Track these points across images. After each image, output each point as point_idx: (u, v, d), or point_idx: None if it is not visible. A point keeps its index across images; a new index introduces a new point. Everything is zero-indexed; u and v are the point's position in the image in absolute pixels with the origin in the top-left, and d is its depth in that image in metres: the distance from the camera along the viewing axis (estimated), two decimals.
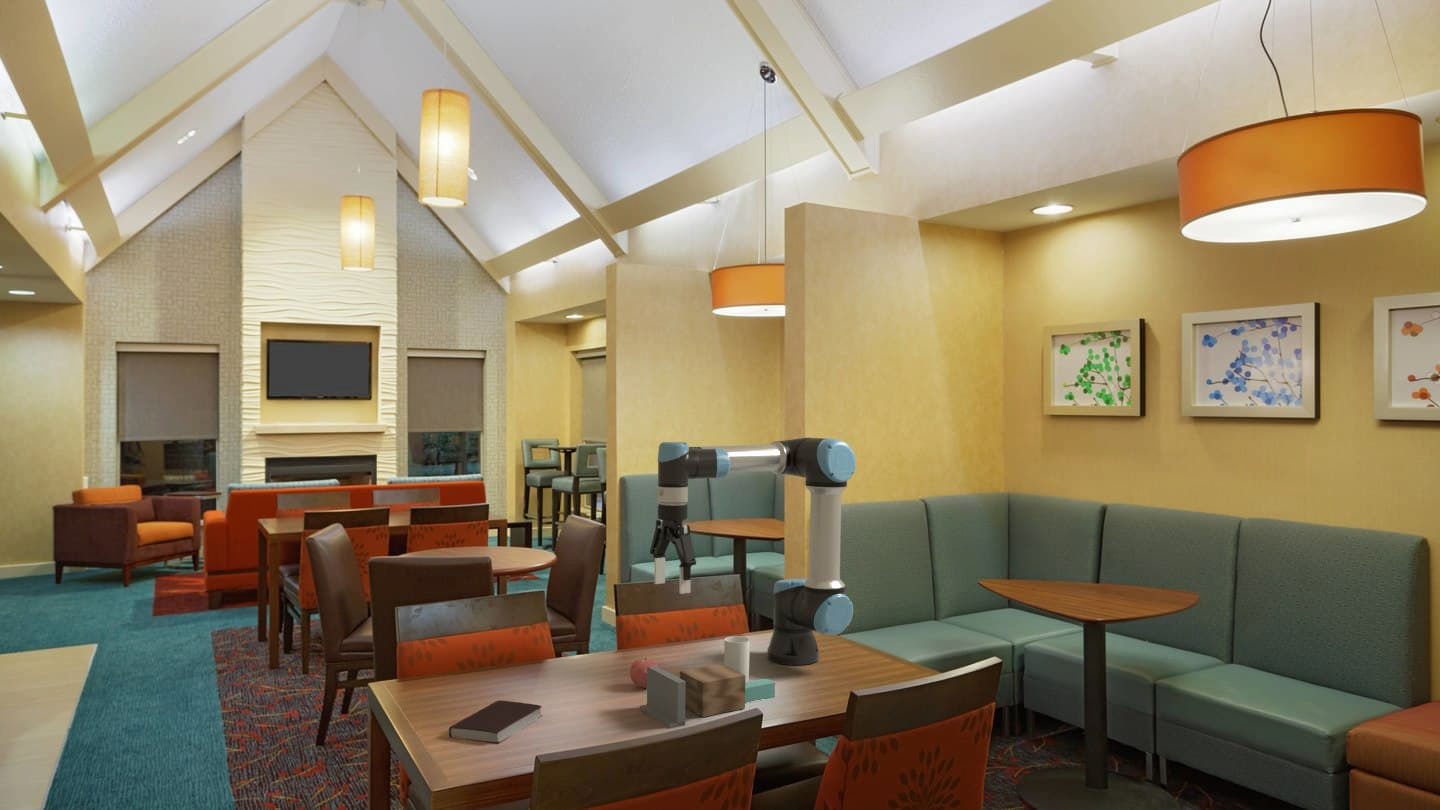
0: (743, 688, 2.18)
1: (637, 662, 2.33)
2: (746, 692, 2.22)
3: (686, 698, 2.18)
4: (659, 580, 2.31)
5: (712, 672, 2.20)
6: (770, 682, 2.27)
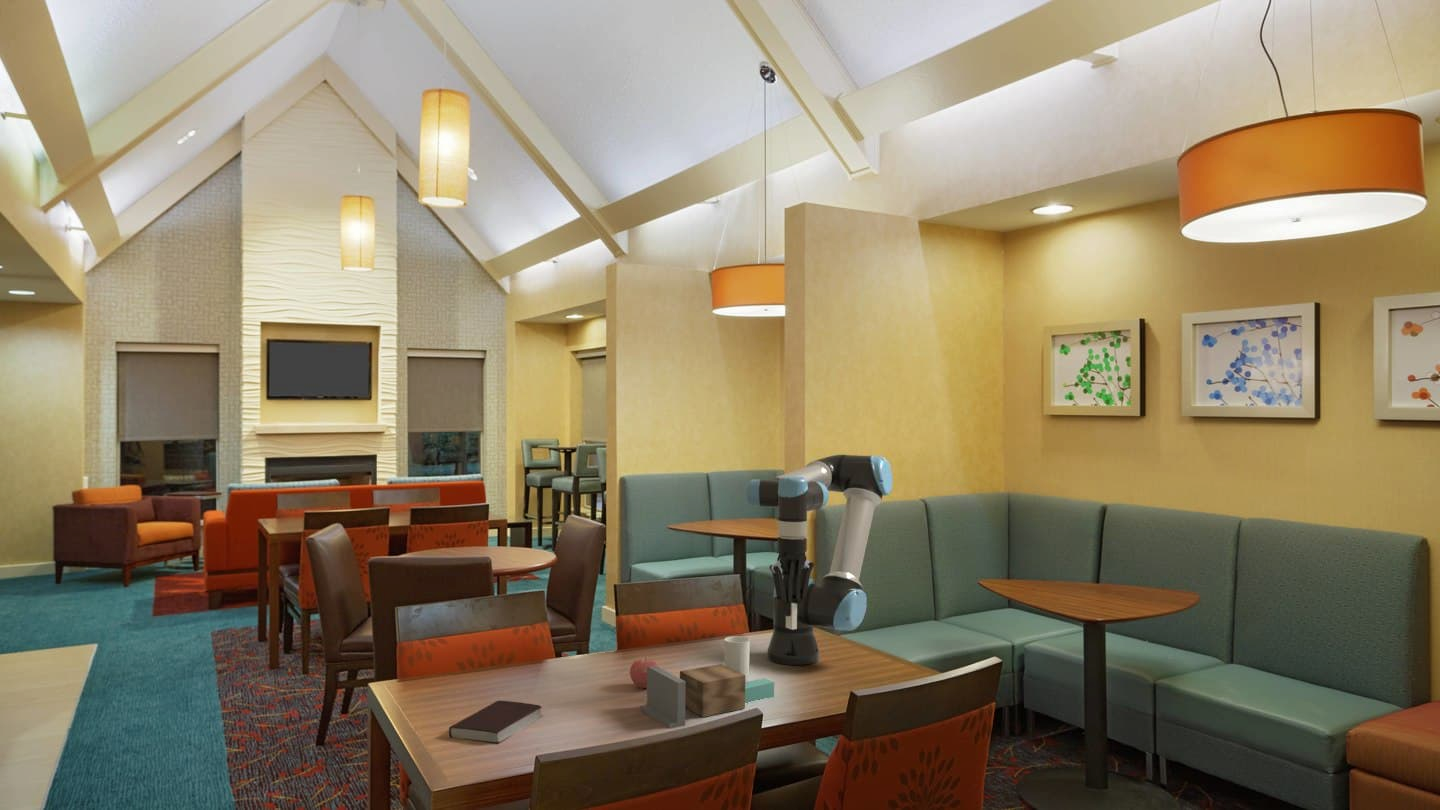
0: (743, 688, 2.18)
1: (637, 662, 2.33)
2: (747, 692, 2.22)
3: (686, 698, 2.18)
4: None
5: (712, 672, 2.20)
6: (769, 682, 2.27)
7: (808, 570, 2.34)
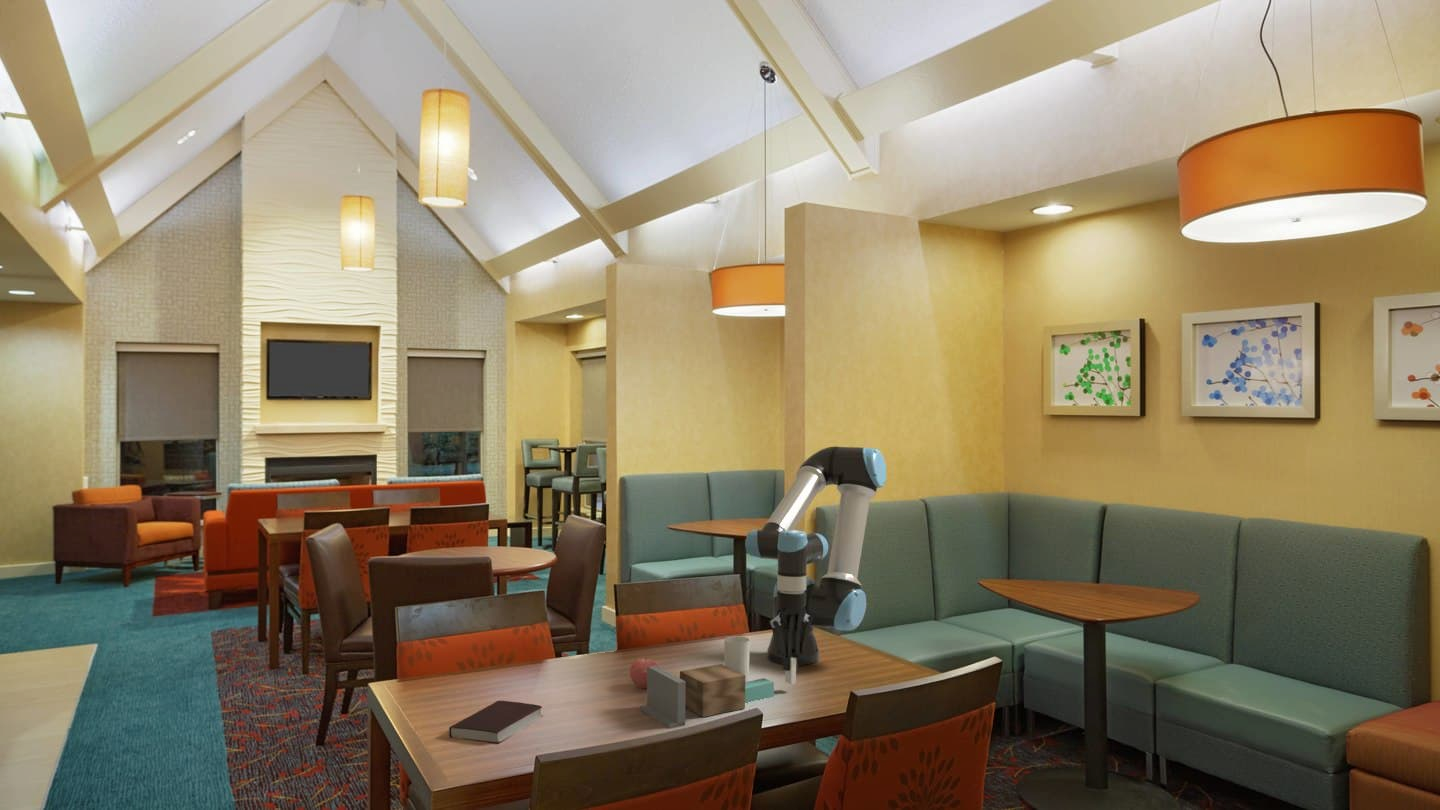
0: (743, 688, 2.18)
1: (637, 662, 2.33)
2: (747, 692, 2.22)
3: (686, 698, 2.18)
4: None
5: (712, 672, 2.20)
6: (769, 681, 2.28)
7: (807, 624, 2.34)
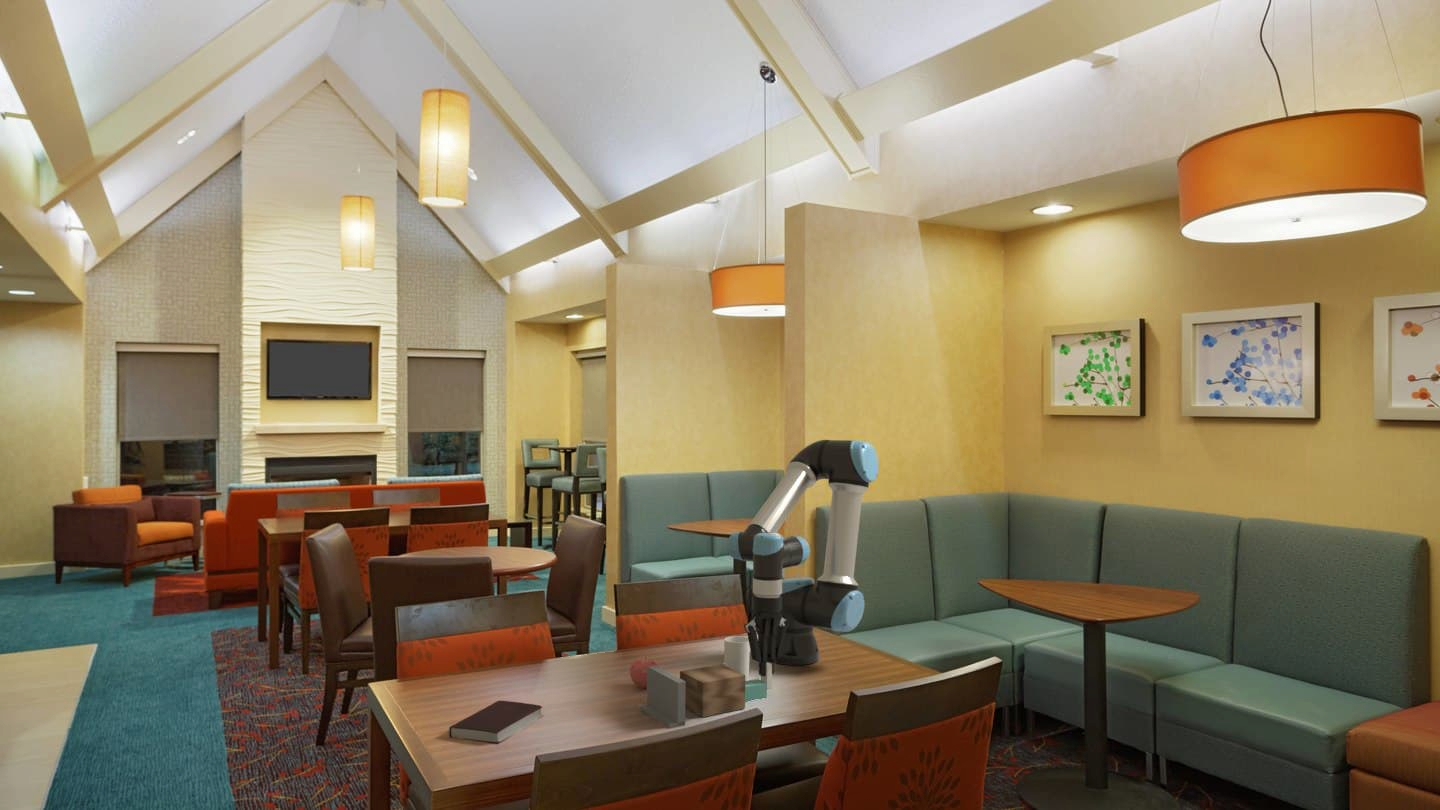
0: (743, 688, 2.18)
1: (637, 662, 2.33)
2: None
3: (686, 698, 2.18)
4: None
5: (712, 672, 2.20)
6: (762, 682, 2.26)
7: (783, 628, 2.29)
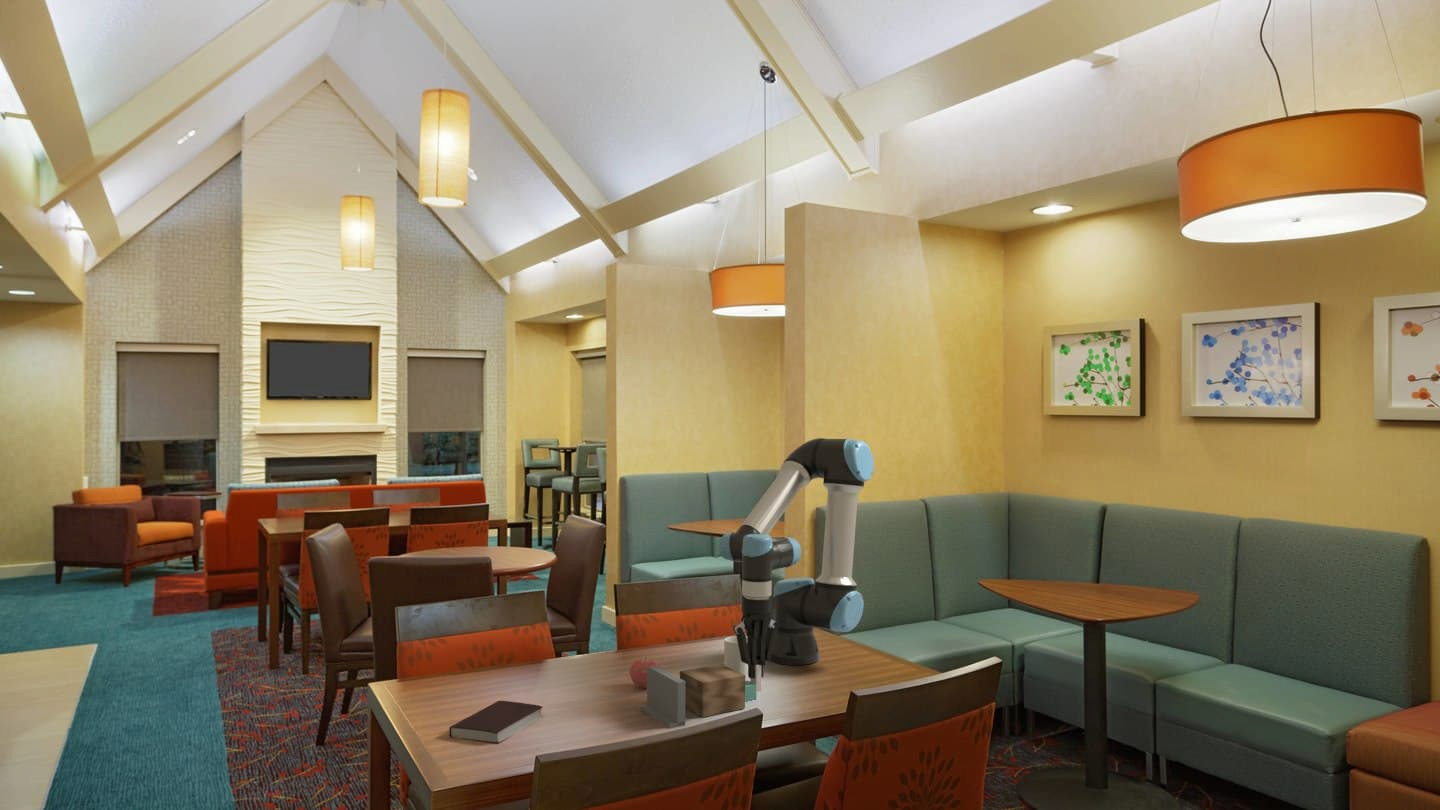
0: (743, 688, 2.18)
1: (637, 662, 2.33)
2: None
3: (686, 698, 2.18)
4: None
5: (712, 672, 2.20)
6: (752, 684, 2.25)
7: (773, 630, 2.28)
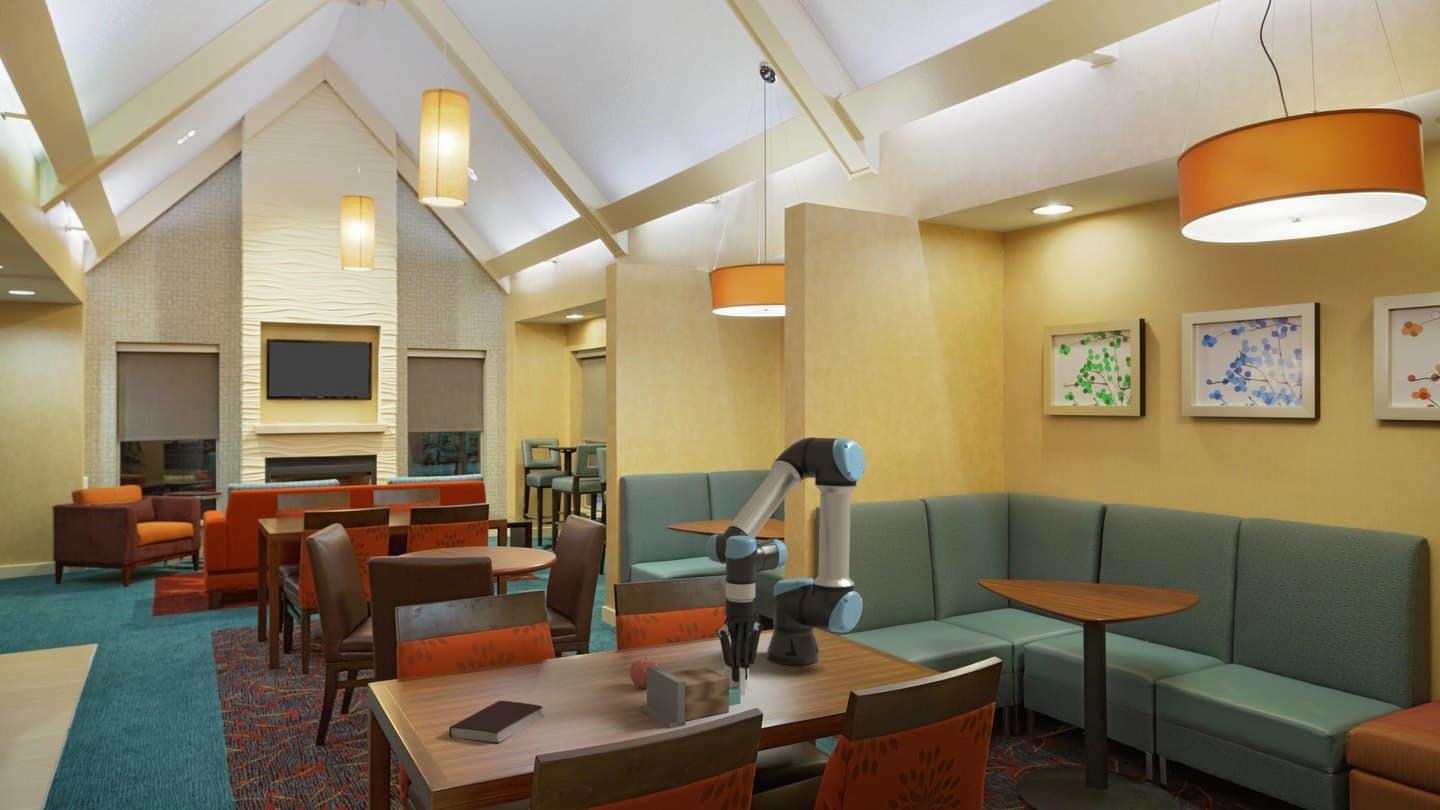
0: (727, 691, 2.15)
1: (637, 662, 2.33)
2: None
3: None
4: None
5: (696, 675, 2.17)
6: (735, 689, 2.22)
7: (757, 633, 2.25)
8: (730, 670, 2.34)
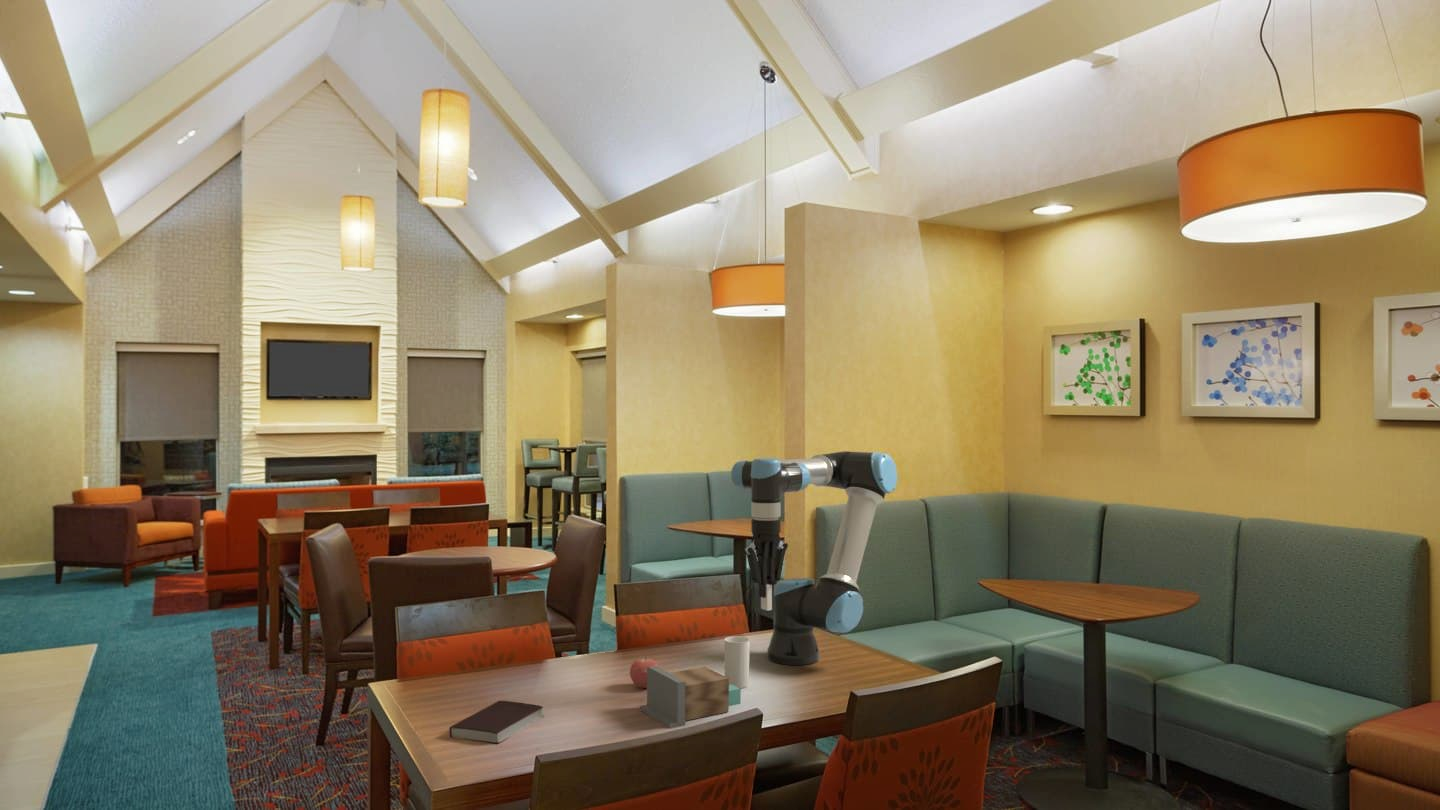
0: (726, 691, 2.15)
1: (637, 662, 2.33)
2: None
3: None
4: None
5: (695, 675, 2.17)
6: (736, 688, 2.22)
7: (782, 551, 2.33)
8: (730, 670, 2.34)
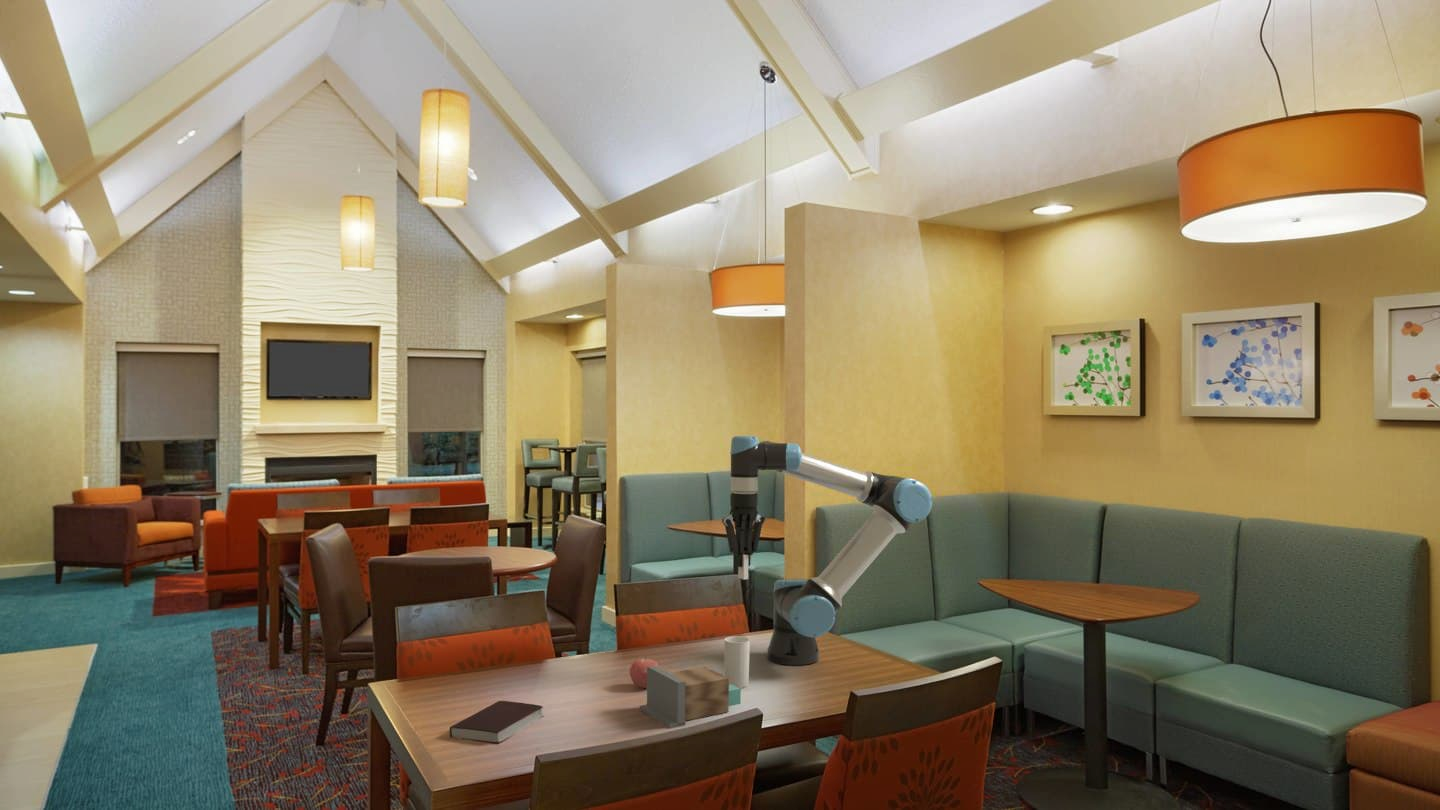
0: (726, 691, 2.15)
1: (637, 662, 2.33)
2: None
3: None
4: None
5: (695, 675, 2.17)
6: (736, 688, 2.22)
7: (759, 524, 2.47)
8: (730, 670, 2.34)
